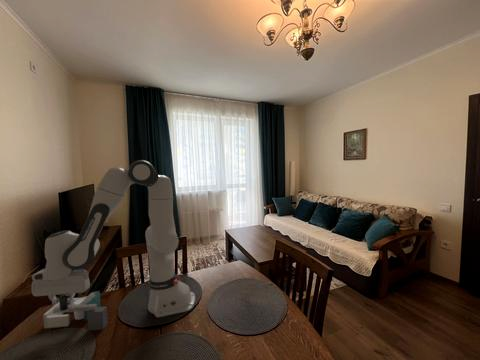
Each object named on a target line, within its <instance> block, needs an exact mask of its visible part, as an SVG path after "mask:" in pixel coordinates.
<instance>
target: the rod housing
mask: <svg viewBox="0 0 480 360" xmlns="http://www.w3.org/2000/svg"><path fill="white" fill-rule="evenodd" d="M107 308H108V307H107V306H101V307H97V308H96V309H95V310H89V311H88V312H87V317H88V320H87V329H88V331H89V332H90V331H98V330H104V329H105V328H106V326H107V325H108V323H109V321H108V309H107Z"/></svg>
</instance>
